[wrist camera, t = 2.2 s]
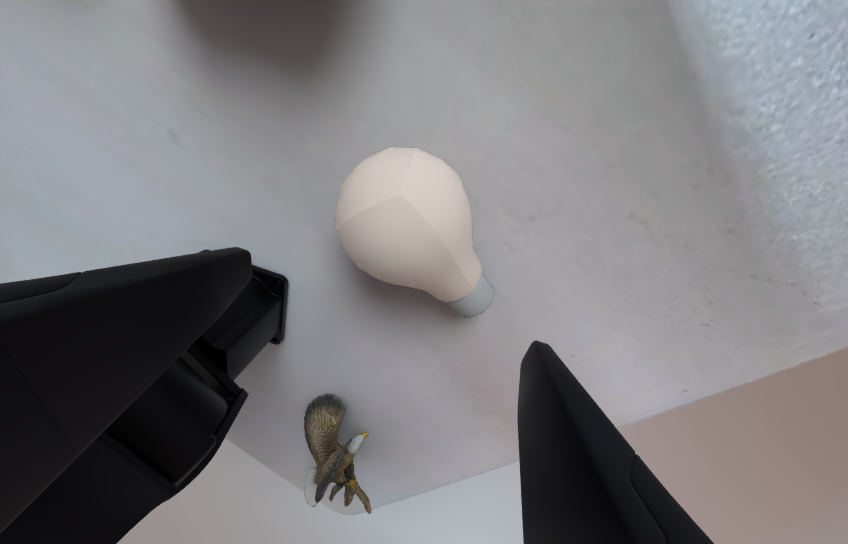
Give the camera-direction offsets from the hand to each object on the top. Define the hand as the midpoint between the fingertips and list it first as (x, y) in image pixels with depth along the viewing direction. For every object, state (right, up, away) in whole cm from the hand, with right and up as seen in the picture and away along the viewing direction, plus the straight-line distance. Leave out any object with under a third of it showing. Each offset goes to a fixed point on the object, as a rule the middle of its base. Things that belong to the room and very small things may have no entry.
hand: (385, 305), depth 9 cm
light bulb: (+2, +4, +9) cm, 10 cm away
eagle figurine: (-6, -14, +20) cm, 25 cm away
